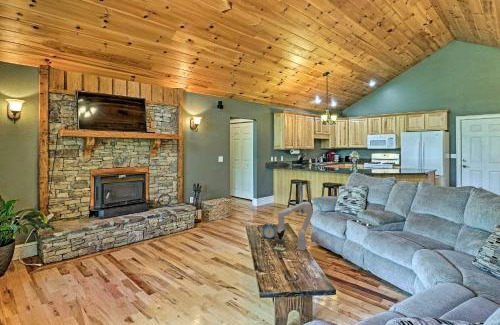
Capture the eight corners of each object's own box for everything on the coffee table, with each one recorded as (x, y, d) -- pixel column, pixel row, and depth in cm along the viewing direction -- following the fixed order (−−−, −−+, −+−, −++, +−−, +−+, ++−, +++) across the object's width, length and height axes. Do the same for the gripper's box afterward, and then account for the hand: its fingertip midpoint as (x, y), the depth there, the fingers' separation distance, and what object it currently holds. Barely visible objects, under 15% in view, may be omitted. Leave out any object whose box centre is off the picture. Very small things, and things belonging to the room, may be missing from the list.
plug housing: (272, 243, 279) (272, 237, 278) (284, 245, 273) (284, 239, 272) (271, 244, 275) (271, 238, 275) (283, 247, 269) (283, 240, 269)
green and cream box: (276, 247, 268) (276, 242, 268) (286, 249, 264) (286, 244, 263) (272, 250, 261) (272, 244, 261) (283, 251, 257) (283, 246, 256)
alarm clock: (262, 238, 294) (262, 224, 293) (262, 236, 300) (262, 222, 300) (275, 238, 294) (275, 224, 293) (275, 236, 300) (275, 222, 299)
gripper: (278, 221, 275) (278, 235, 276) (275, 225, 262) (275, 240, 262) (285, 222, 273) (285, 236, 274) (282, 226, 259) (282, 241, 260)
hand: (281, 238), depth 268 cm, fingers open, 7 cm apart
